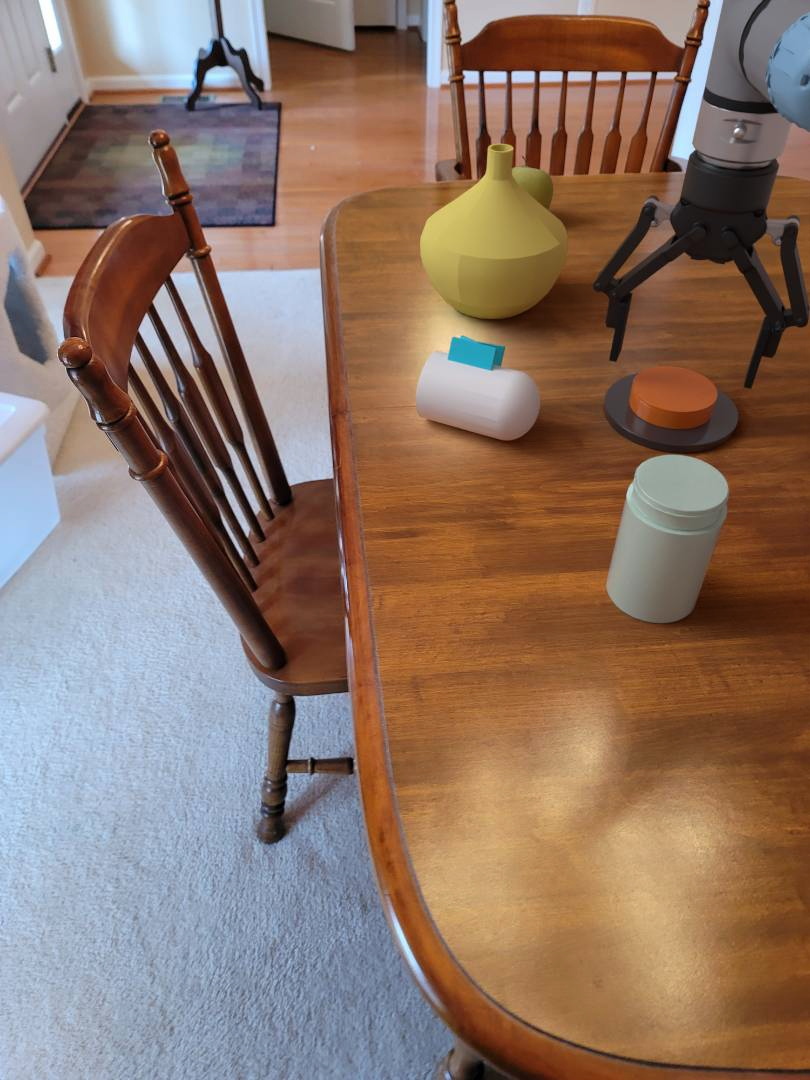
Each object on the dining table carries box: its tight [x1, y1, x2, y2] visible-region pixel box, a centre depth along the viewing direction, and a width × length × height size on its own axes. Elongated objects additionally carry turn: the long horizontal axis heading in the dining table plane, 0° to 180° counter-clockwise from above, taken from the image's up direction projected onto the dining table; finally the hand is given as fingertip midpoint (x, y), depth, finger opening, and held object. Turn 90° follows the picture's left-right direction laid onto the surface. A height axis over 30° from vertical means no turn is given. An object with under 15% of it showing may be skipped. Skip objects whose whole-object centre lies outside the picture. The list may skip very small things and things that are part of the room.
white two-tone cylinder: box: [415, 334, 541, 441], centre depth 88 cm, size 12×9×12 cm
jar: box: [605, 454, 730, 624], centre depth 67 cm, size 8×8×12 cm
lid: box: [629, 365, 718, 429], centre depth 89 cm, size 9×9×2 cm
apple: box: [512, 155, 554, 211], centre depth 124 cm, size 8×8×10 cm
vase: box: [419, 143, 569, 320], centre depth 102 cm, size 18×18×19 cm
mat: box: [603, 372, 739, 454], centre depth 90 cm, size 14×14×1 cm
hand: (680, 368), depth 86 cm, fingers open, 13 cm apart
